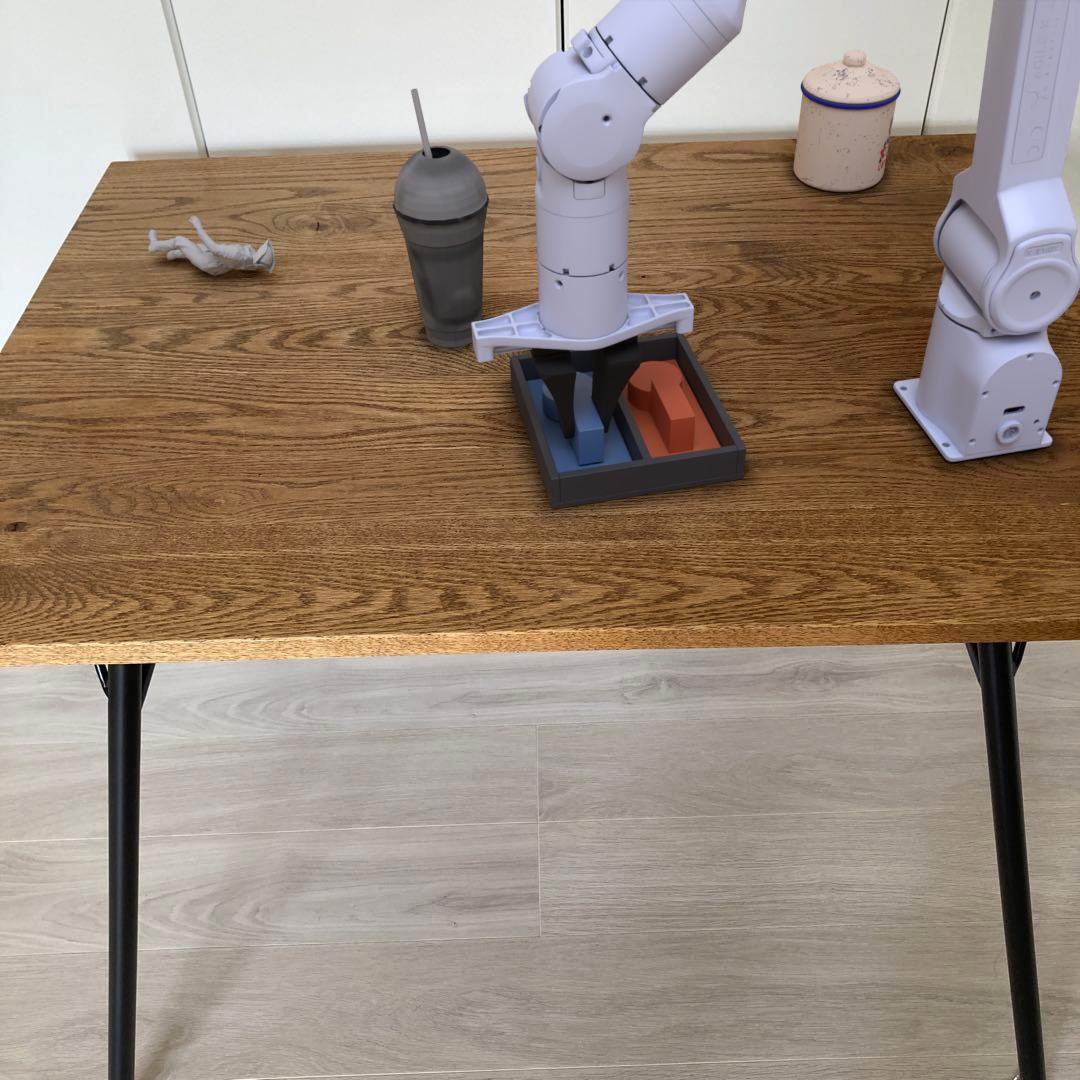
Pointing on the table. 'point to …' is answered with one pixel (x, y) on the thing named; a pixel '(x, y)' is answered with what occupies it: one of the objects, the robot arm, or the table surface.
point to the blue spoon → (581, 421)
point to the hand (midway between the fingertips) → (583, 427)
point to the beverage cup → (443, 236)
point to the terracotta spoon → (664, 403)
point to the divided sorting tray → (631, 435)
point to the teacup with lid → (845, 124)
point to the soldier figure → (214, 252)
